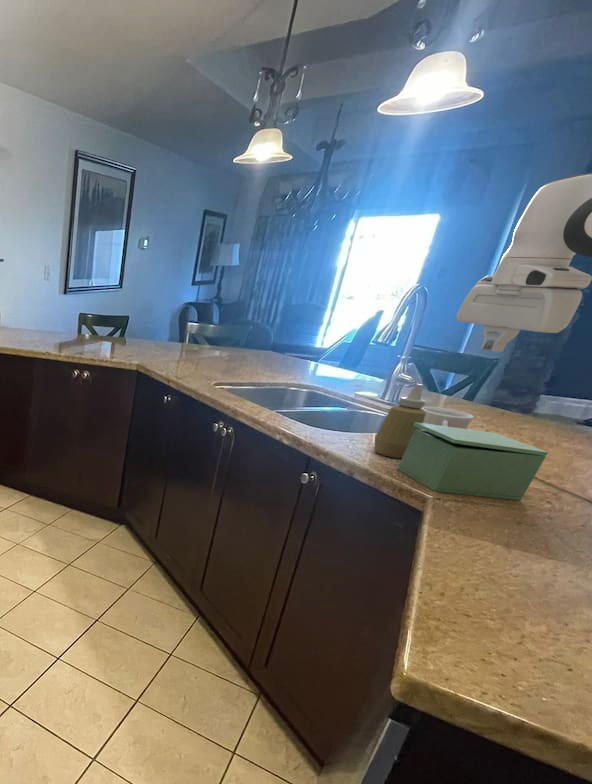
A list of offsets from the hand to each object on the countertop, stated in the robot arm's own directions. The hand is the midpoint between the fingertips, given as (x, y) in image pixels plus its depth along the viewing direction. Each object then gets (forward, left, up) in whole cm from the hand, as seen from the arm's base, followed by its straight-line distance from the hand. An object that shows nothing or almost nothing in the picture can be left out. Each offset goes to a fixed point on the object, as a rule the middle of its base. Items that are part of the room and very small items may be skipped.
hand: (491, 351), depth 97 cm
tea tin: (-5, +1, -28) cm, 29 cm away
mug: (-16, -25, -28) cm, 41 cm away
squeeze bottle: (-2, -17, -28) cm, 33 cm away
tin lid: (-4, +1, -18) cm, 19 cm away
